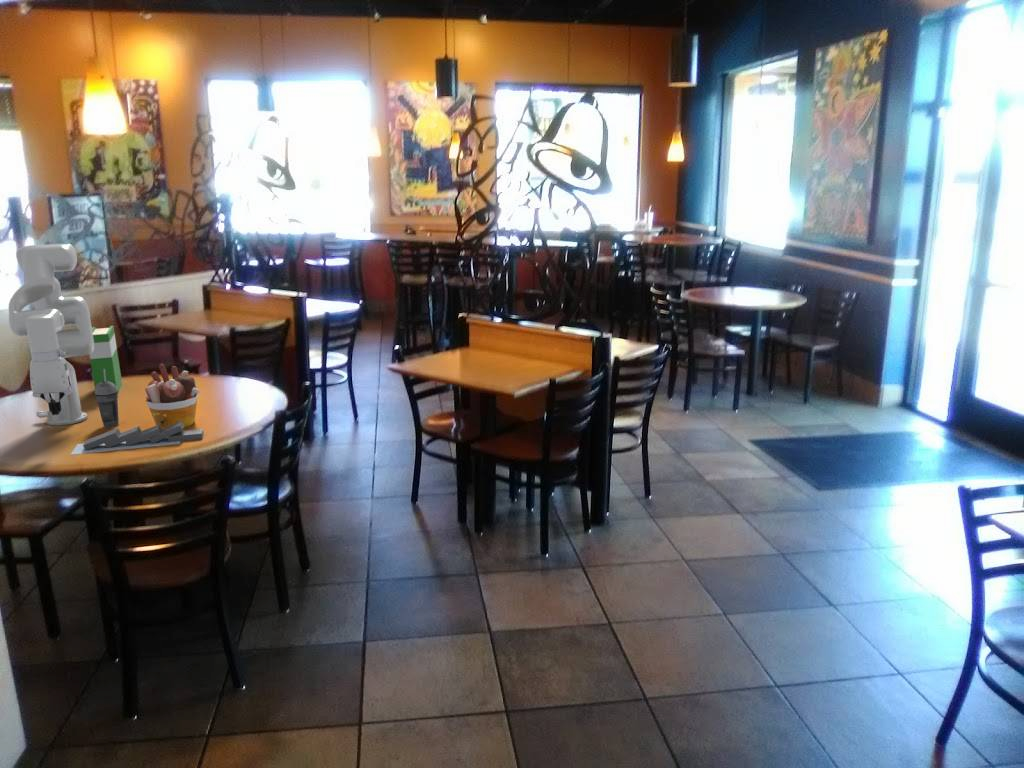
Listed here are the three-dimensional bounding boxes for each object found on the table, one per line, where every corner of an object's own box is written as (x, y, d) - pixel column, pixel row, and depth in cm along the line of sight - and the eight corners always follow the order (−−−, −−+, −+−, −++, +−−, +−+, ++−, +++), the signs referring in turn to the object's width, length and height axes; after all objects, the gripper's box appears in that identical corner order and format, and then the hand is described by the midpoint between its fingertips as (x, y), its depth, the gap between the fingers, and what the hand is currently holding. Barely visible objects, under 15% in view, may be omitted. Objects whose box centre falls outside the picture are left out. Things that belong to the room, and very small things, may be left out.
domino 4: (149, 439, 255) (179, 425, 256) (151, 434, 259) (181, 420, 261) (151, 443, 255) (182, 430, 257) (154, 438, 260) (184, 425, 261)
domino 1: (82, 445, 250) (115, 432, 252) (86, 440, 254) (118, 427, 256) (85, 450, 250) (118, 437, 252) (88, 445, 255) (120, 432, 257)
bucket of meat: (208, 428, 271) (201, 370, 266) (155, 438, 262) (147, 378, 257) (193, 414, 287) (186, 359, 282) (143, 422, 279) (135, 366, 273)
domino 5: (167, 436, 256) (201, 433, 259) (169, 431, 261) (203, 428, 263) (168, 442, 257) (202, 438, 259) (170, 437, 261) (203, 434, 264)
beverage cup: (116, 421, 281) (108, 364, 276) (127, 425, 276) (118, 367, 271) (95, 426, 276) (86, 369, 270) (105, 430, 271) (96, 372, 266)
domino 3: (125, 441, 253) (157, 429, 255) (128, 436, 258) (159, 424, 259) (128, 446, 254) (159, 434, 255) (130, 441, 258) (161, 429, 260)
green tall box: (101, 386, 327) (92, 327, 321) (122, 384, 329) (113, 325, 323) (96, 397, 311) (86, 335, 305) (117, 395, 313) (108, 333, 307)
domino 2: (104, 443, 251) (136, 430, 253) (107, 438, 256) (138, 426, 258) (107, 448, 252) (139, 435, 254) (110, 443, 257) (141, 431, 258)
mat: (70, 456, 247) (70, 454, 247) (77, 445, 257) (77, 444, 256) (179, 445, 255) (179, 443, 255) (183, 435, 265) (182, 433, 265)
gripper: (76, 350, 249) (85, 407, 255) (21, 354, 246) (32, 411, 251) (70, 357, 243) (80, 415, 248) (14, 360, 239) (25, 420, 244)
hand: (56, 413), depth 250 cm, fingers closed
